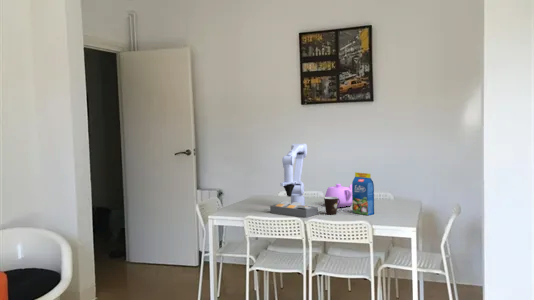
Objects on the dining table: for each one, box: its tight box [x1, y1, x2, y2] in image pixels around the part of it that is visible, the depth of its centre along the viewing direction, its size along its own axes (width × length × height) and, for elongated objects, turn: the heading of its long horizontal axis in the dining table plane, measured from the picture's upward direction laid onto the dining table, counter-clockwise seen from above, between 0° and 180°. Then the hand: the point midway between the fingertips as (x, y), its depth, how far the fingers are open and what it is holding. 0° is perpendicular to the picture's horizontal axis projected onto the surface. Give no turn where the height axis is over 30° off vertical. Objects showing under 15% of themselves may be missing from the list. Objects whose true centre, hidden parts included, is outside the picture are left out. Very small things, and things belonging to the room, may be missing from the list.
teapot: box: [324, 183, 352, 209], centre depth 318 cm, size 23×21×15 cm
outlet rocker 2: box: [286, 202, 301, 208], centre depth 296 cm, size 9×6×1 cm, turn 140°
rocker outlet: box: [297, 205, 313, 209], centre depth 290 cm, size 9×6×1 cm, turn 140°
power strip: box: [269, 203, 319, 219], centre depth 296 cm, size 12×28×4 cm, turn 50°
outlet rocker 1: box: [275, 200, 291, 207], centre depth 302 cm, size 9×6×1 cm, turn 140°
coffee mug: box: [323, 196, 340, 216], centre depth 292 cm, size 12×9×10 cm
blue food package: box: [351, 171, 375, 216], centre depth 290 cm, size 6×12×25 cm, turn 39°
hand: (289, 196), depth 299 cm, fingers closed
